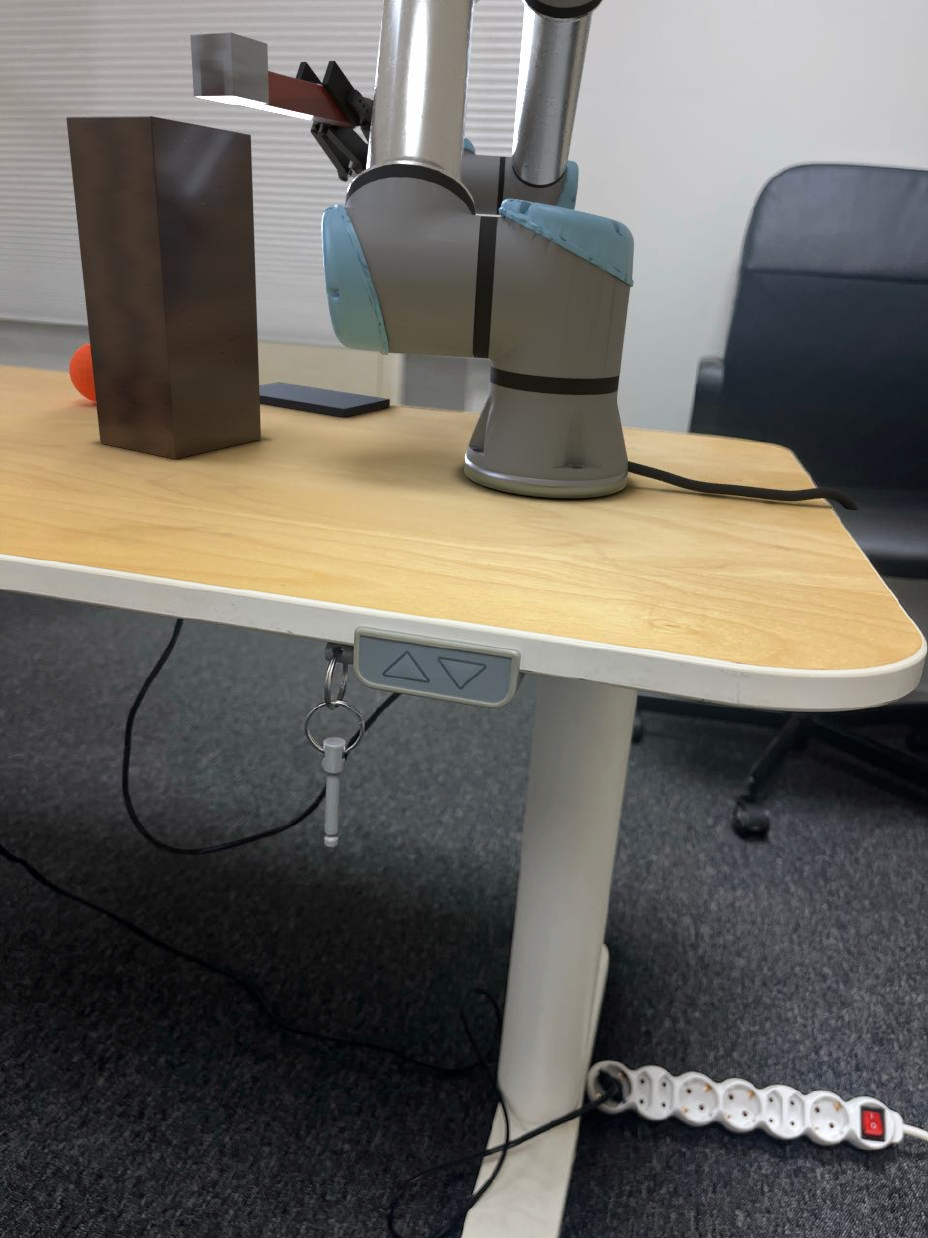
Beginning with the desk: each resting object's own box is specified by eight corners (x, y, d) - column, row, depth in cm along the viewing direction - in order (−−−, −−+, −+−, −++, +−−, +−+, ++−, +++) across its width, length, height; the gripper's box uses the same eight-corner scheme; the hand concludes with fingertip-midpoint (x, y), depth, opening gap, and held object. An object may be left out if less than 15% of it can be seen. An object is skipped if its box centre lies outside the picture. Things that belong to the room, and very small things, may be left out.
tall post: (261, 439, 92) (251, 134, 81) (175, 459, 83) (150, 115, 72) (189, 425, 97) (170, 133, 86) (100, 443, 87) (65, 116, 76)
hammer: (378, 128, 102) (379, 78, 100) (233, 95, 82) (231, 31, 80) (342, 128, 104) (342, 78, 102) (193, 96, 84) (189, 33, 82)
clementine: (154, 403, 107) (149, 341, 105) (113, 411, 101) (107, 346, 99) (102, 395, 110) (96, 335, 107) (59, 403, 104) (51, 339, 101)
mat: (389, 406, 114) (390, 398, 114) (344, 417, 106) (344, 408, 105) (279, 389, 122) (279, 381, 121) (228, 397, 113) (228, 389, 113)
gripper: (368, 177, 119) (264, 43, 97) (474, 180, 112) (388, 37, 91) (351, 229, 118) (244, 105, 97) (457, 236, 111) (366, 104, 90)
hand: (314, 73), depth 94 cm, fingers closed on hammer, 3 cm apart
